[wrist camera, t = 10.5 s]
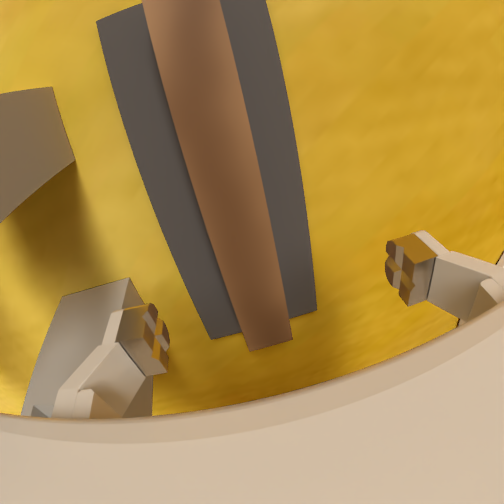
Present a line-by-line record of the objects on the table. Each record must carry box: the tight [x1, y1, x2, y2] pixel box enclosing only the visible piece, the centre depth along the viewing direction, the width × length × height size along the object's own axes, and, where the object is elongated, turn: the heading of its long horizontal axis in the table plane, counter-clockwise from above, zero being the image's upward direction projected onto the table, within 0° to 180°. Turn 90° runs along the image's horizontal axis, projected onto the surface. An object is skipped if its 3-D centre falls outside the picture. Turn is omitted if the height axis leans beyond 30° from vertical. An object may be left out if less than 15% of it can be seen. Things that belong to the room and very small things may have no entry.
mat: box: [96, 0, 317, 340], centre depth 17 cm, size 9×24×1 cm, turn 12°
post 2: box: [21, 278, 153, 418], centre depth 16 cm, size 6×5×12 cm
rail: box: [142, 0, 293, 351], centre depth 16 cm, size 3×22×3 cm, turn 12°
